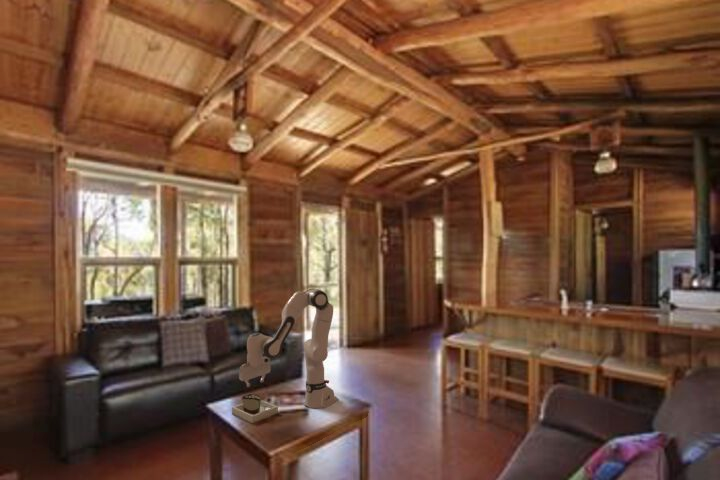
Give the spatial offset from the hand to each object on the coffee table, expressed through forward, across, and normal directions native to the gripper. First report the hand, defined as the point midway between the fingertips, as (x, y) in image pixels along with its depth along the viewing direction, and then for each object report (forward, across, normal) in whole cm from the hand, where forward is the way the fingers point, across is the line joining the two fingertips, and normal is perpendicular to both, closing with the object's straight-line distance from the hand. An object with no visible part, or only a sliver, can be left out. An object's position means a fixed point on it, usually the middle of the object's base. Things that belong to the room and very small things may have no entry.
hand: (255, 384), depth 244 cm
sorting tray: (+17, 0, 0) cm, 17 cm away
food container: (+16, -1, +1) cm, 17 cm away
